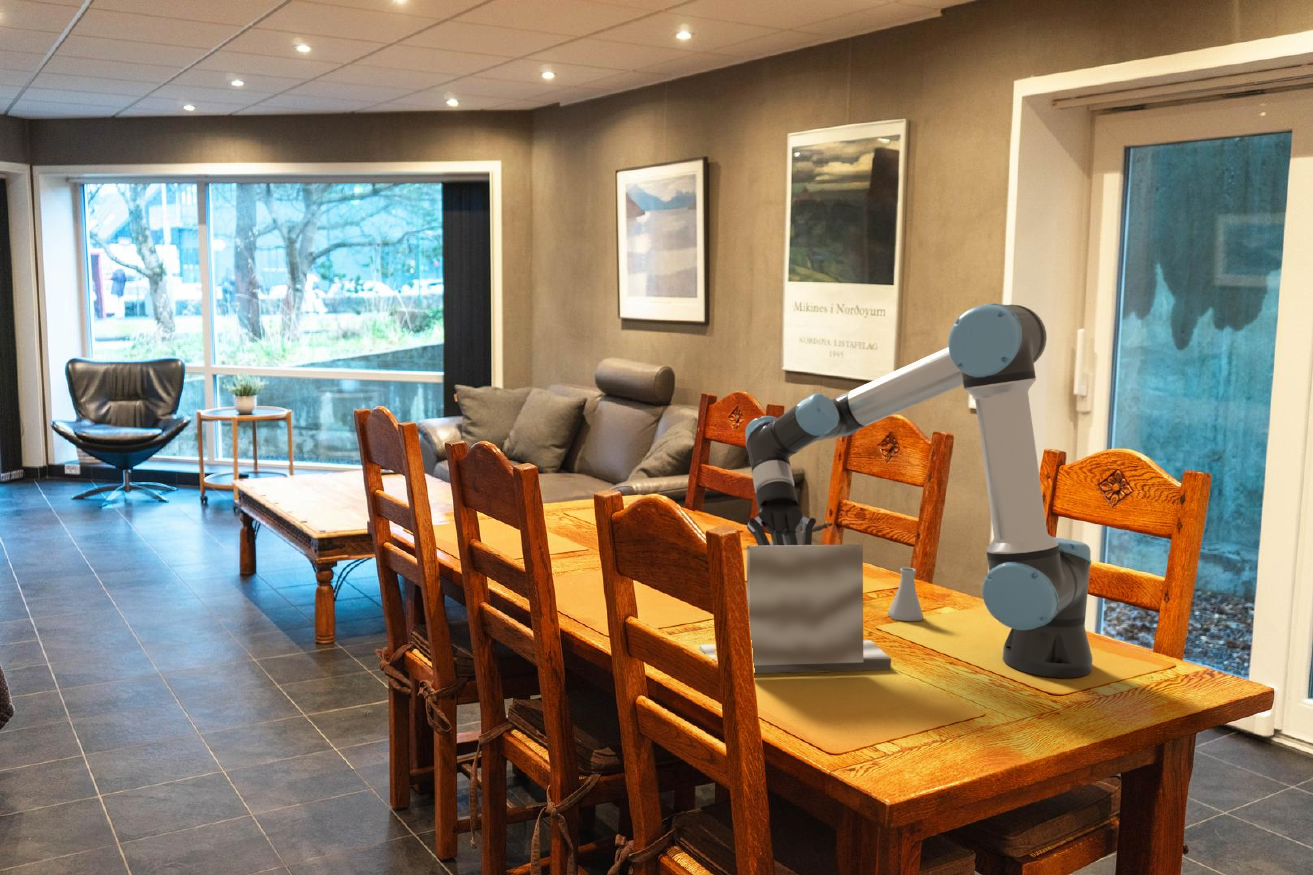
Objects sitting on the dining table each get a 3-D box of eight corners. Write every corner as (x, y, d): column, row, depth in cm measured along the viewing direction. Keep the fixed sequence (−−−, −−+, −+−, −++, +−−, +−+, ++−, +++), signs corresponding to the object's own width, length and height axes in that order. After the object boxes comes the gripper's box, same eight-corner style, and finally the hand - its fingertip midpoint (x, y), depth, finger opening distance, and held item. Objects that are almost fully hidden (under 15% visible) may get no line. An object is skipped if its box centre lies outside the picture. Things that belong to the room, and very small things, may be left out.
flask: (921, 613, 228) (924, 565, 227) (925, 623, 221) (928, 574, 220) (885, 610, 229) (888, 563, 227) (889, 621, 222) (891, 572, 220)
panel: (749, 665, 186) (747, 663, 188) (863, 662, 189) (859, 660, 191) (749, 546, 187) (746, 545, 189) (862, 545, 190) (858, 544, 192)
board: (699, 655, 198) (699, 644, 197) (870, 650, 203) (870, 640, 203) (711, 674, 188) (711, 663, 188) (890, 669, 193) (891, 658, 193)
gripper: (803, 501, 212) (826, 610, 198) (737, 501, 210) (755, 612, 196) (813, 479, 206) (837, 590, 192) (745, 478, 204) (764, 591, 190)
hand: (796, 601), depth 194 cm, fingers closed
